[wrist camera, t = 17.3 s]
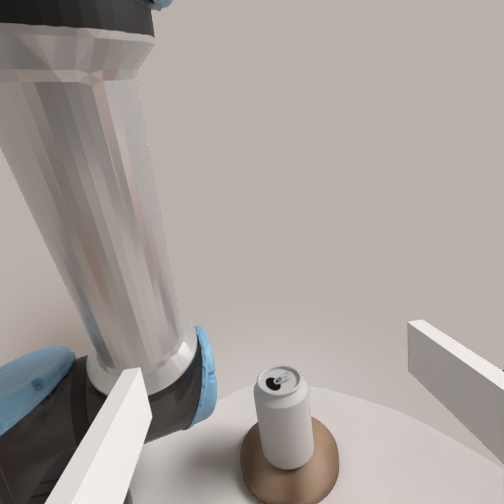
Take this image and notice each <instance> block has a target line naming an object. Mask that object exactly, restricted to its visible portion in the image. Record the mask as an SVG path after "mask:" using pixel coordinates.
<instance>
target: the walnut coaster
mask: <svg viewBox="0 0 504 504" xmlns="http://www.w3.org/2000/svg"><path fill="white" fill-rule="evenodd" d="M311 422H312V432H313V441H314V450H313V455H312V456H311V458H310V459H309V461H308V462H307V463H305V464H304V465H303V466H301V467H298V468H295V469H281V468H278V467H275V466H274V465H272V464H271V463H270V462H268V460H267V459H266V457H265V456H264V453H263V450H262V444H261V438H260V431H259V425H258V422H257V423H256V424H255V425H254V426H253V427H252V428H251V429H250V430H249V432H248V433H247V435H246V436H245V439H244V441H243V444H242V447H241V465H242V471H243V475H244V479H245V481H246V483H247V485H248V487H249V489H250V490H251V491H252V493H253V494H254V495H255V496H256V497H257V498H258V499H259V500H261V501H262V502H264V503H265V504H317V503H319V502H320V501H322V500H323V499H324V498H325V497H326V496H327V495H328V494H329V493H330V491H331V490H332V488H333V487H334V485H335V483H336V480H337V477H338V473H339V456H338V449H337V444H336V442H335V439H334V437H333V435H332V434H331V432H330V431H329V430H328V429H327V427H326V426H325V425H323V424H322V423H321V422H320V421H318V420H317V419H315V418H313V417H311Z"/></svg>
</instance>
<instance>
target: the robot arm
mask: <svg viewBox="0 0 504 504" xmlns="http://www.w3.org/2000/svg"><path fill="white" fill-rule="evenodd" d="M172 1H173V0H0V147H1V149H2V152H3V154H4V156H5V158H6V160H7V162H8V164H9V166H10V169H11V171H12V173H13V175H14V177H15V179H16V181H17V184H18V185H19V188H20V190H21V192H22V194H23V196H24V198H25V201H26V203H27V205H28V207H29V209H30V211H31V213H32V215H33V217H34V220H35V221H36V224H37V226H38V228H39V230H40V233H41V235H42V237H43V239H44V241H45V243H46V245H47V247H48V250H49V252H50V254H51V256H52V258H53V260H54V262H55V264H56V267H57V269H58V271H59V273H60V275H61V277H62V279H63V281H64V284H65V286H66V288H67V290H68V292H69V294H70V296H71V298H72V301H73V303H74V305H75V307H76V309H77V311H78V313H79V316H80V318H81V320H82V322H83V324H84V326H85V328H86V330H87V333H88V334H89V337H90V339H91V341H92V343H93V345H92V347H91V349H90V351H89V355H87V356H84V357H80V358H76V356H75V352H73V351H72V350H71V349H70V348H69V347H67V346H52V347H47V348H44V349H40V350H38V351H34V352H32V353H29V354H27V355H25V356H22V357H20V358H18V359H15V360H13V361H11V362H9V363H7V364H6V365H3V366H2V367H0V504H132V497H131V493H130V489H129V485H130V482H131V479H132V476H133V473H134V470H135V467H136V464H137V461H138V458H139V455H140V452H141V449H142V446H143V444H146V443H148V442H151V441H153V440H156V439H158V438H161V437H164V436H166V435H169V434H171V433H174V432H176V431H179V430H187V429H189V428H191V426H193V425H194V424H196V423H198V422H200V421H203V420H205V419H207V418H208V417H209V416H210V415H211V414H212V413H213V411H214V409H215V405H216V399H217V382H216V377H215V374H214V372H215V365H214V359H213V354H212V350H211V346H210V342H209V339H208V337H207V334H206V332H205V330H204V329H203V328H202V327H200V326H193V324H192V323H191V322H190V320H189V319H188V318H187V317H186V316H184V315H183V314H181V313H179V310H178V305H177V299H176V294H175V289H174V283H173V278H172V272H171V267H170V261H169V256H168V250H167V245H166V240H165V234H164V228H163V223H162V217H161V212H160V206H159V201H158V196H157V190H156V185H155V179H154V173H153V168H152V162H151V157H150V151H149V146H148V140H147V135H146V130H145V124H144V119H143V113H142V108H141V102H140V97H139V91H138V86H137V80H136V76H137V73H138V70H139V67H140V66H141V64H142V63H143V62H144V60H145V59H146V57H147V56H148V54H149V53H150V51H151V50H152V48H153V47H154V45H155V37H154V30H153V22H152V15H151V10H158V11H160V10H161V9H162V8H164V7H168V6H169V5H170V4H171V3H172ZM407 323H408V324H407V329H408V371H409V372H410V373H411V374H412V375H413V376H414V377H415V378H416V379H417V380H418V381H419V382H420V383H421V384H422V385H423V386H424V387H425V388H426V389H428V391H429V392H430V393H432V394H433V395H434V396H435V397H436V398H437V399H438V400H439V401H440V402H441V403H442V404H443V405H444V406H445V407H446V408H447V409H448V410H449V411H450V412H451V413H452V414H453V415H454V416H455V417H456V418H457V419H458V420H459V421H460V422H461V423H462V424H463V425H464V426H465V427H466V428H468V429H469V430H470V431H471V432H472V433H473V434H474V435H475V436H476V437H477V438H478V439H479V440H480V441H481V442H482V443H483V444H484V445H485V446H486V447H487V448H488V449H489V450H490V451H491V452H492V453H493V454H494V455H495V456H496V457H497V458H498V459H499V460H500V461H501V462H502V463H504V370H500V369H499V368H497V367H496V366H494V365H492V364H491V363H489V362H488V361H486V360H484V359H483V358H481V357H480V356H478V355H477V354H475V353H474V352H472V351H470V350H469V349H467V348H466V347H464V346H463V345H461V344H459V343H458V342H456V341H455V340H453V339H452V338H450V337H449V336H447V335H445V334H444V333H442V332H441V331H439V330H437V329H436V328H435V327H433V326H431V325H430V324H428V323H427V322H425V321H424V320H417V321H411V322H407Z"/></svg>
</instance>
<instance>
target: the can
mask: <svg viewBox="0 0 504 504" xmlns="http://www.w3.org/2000/svg"><path fill="white" fill-rule="evenodd" d="M254 398H255V405H256V412H257V418H258V425H259V431H260V438H261V444H262V450H263V453H264V456H265V457H266V459H267V460H268V462H270V463H271V464H272V465H274V466H275V467H278V468H281V469H295V468H298V467H301V466H303V465H304V464H305V463H307V462H308V461H309V459H310V458H311V456H312V455H313V450H314V441H313V432H312V422H311V412H310V403H309V393H308V385H307V383H306V381H305V379H304V378H303V377H302V375H301V373H300V372H299V371H298V370H297V369H296V368H294V367H291V366H288V365H274V366H270V367H268V368H266V369H264V370H263V371H262V372H261V373H260V374H259V376H258V378H257V383H256V384H255V386H254Z"/></svg>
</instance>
